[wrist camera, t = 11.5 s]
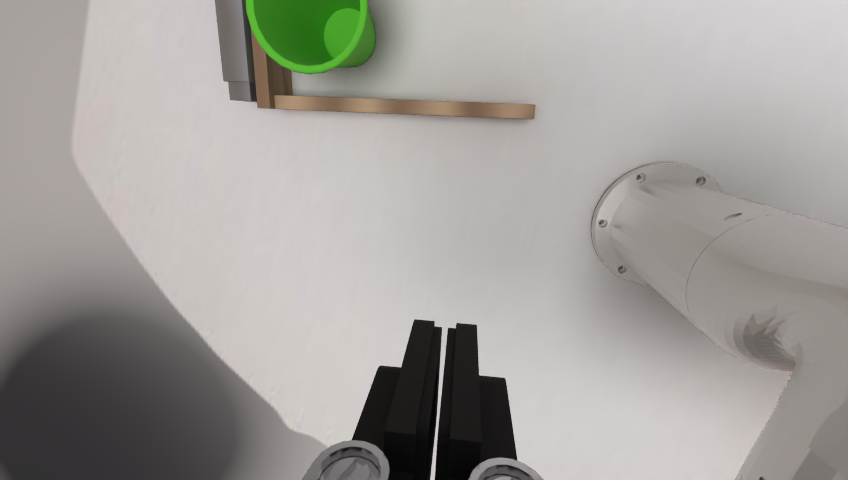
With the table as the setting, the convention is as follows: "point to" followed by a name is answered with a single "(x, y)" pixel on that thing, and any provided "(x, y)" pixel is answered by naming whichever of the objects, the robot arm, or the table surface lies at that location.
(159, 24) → the table surface
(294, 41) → the cup
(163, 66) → the table surface
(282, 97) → the bay
